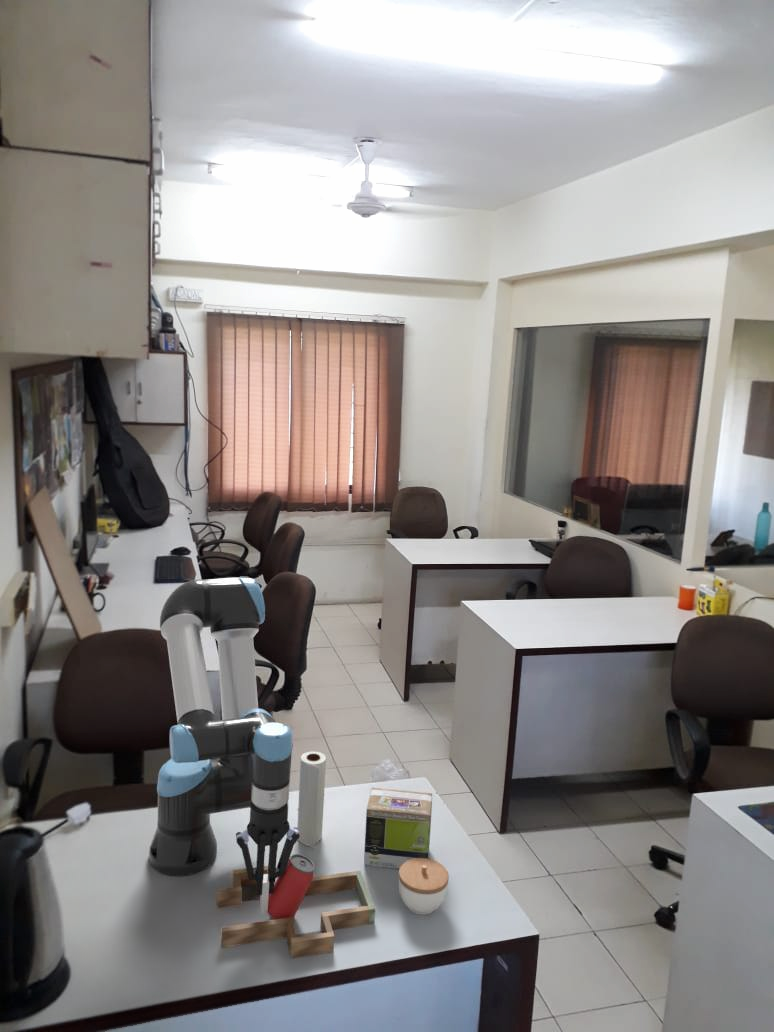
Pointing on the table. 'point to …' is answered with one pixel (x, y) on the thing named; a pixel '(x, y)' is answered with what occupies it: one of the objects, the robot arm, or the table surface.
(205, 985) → the table surface
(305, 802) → the paper towel roll
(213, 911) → the table surface
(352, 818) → the table surface
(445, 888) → the lidded jar
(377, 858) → the tea box
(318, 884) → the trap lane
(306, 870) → the beer can
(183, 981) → the table surface
